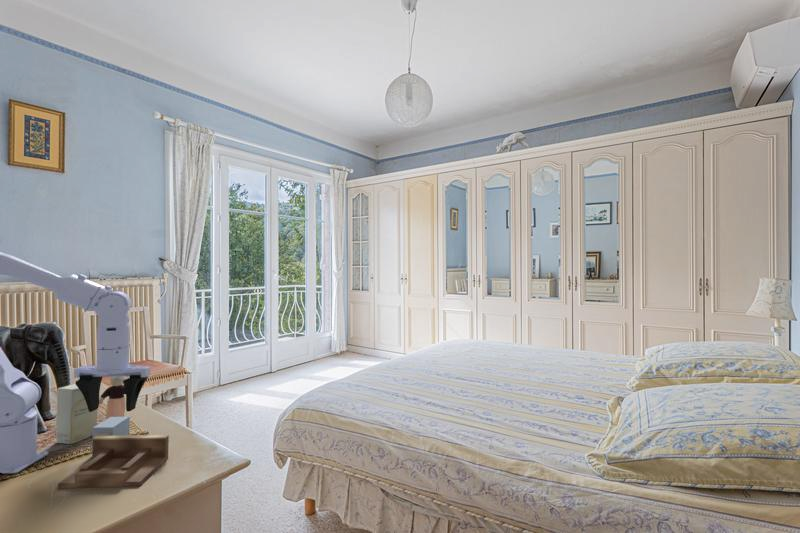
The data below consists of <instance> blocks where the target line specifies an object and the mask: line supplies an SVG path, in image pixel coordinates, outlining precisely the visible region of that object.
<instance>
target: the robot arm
mask: <svg viewBox="0 0 800 533" xmlns="http://www.w3.org/2000/svg"><path fill="white" fill-rule="evenodd" d="M0 275H2V276H7V277H11V278H14V279H17V280H20V281H22V282H23V281H24V282H26V283H29V284H31V285H34V286H38V287H40V288H44V289H47V290H50V291H52V292H53V295H54V297H55V299H56V300H58V301H61V302H64V303H66V304H69V305H72V306H75V307H77V308H80V309H83V310H85V311H88V312H93V311H94V313H95V314H96V316H97V318H98V319H97V321H98V323H97V327H96V328H97V329H96V365H89V366H87V365H86V366H85V365H84V366H79V367H74V369H73V378H75V379H76V378H77V379H78V380H76V381H75V384H76V386H77V387H78V388H79V389H80V391H81V392H82V394H83V396H84V398H85V401H86V404H87V407H88V410H89V412H93V411H94V410H96V409H97V410H98V409H99V406H100V404H99V400H100V389H101V385H102V381H103V378H104V377H105V378H106V377H109V378H110V377H126V379H125V380H124V381H123V383H122V384H123V386H124V387H125V392H126V394H125V396H126V397H125V411H126V412H132V411H133V410H135V409H136V405H137V401H138V398H139V395H140V392H141V391H142V389H143V386H144V384H145V383H146V381H147V380H148V377H150V376H151V367H152V366H149V365H137V364H136V365H135V364H130V333H131V332H130V330H131V329H130V327H131V326H130V324H129V322H130V316H129V315H130V314H129V311H130V310H131V307H132V300H131V297H130V296H129V295H128V294H127V293H125V292H124V291H122V290H121V289H116V290H115V289H114V290H112V288H113V287H112V285H111V286H110V285H101V283H100V284H99V283H96V282H95V281H91V280H89V279H88V278H89V277H88V276H87V275H85V274H79V275H76V274H69V275H64V276H61V275H59V274H57V273H54V272H51V271H49V270H47V269H45V268H43V267H40V266H38V265H35V264H32V263H30V262H28V261H25V260H23V259H20V258H18V257H16V256H14V255H11V254H8V253H6V252H5V253H4V252H1V251H0ZM127 377H129V378H127ZM41 398H42V388H41V387H40V385H39V384H38V383H37V382H35V381H33V380H31V379H29V378H28V377H27V375H26V374H25V373H24V372H23V371H21V370H20V369H18V368H16V367H14V366H13V364H12V362H11V361H10V360H9V358H8V356H7V355H6V353H5V352H4V350H3V349H2V347H1V346H0V472H1V473H2V474H16V473H17V474H18V473H19V472H21V471H22V470H24V469H26V468H28V467H29V466H31V465H32V464H34V463H35V462H37V461H39V460H41V459H43V458H45V457H46V456H48V455H49V452H48V451H38V450H37V449H38V411H37V409H36V408H35V405H36V404H38V402H39V401H40V399H41Z"/></svg>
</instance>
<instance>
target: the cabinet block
mask: <svg viewBox="0 0 800 533" xmlns="http://www.w3.org/2000/svg"><path fill="white" fill-rule="evenodd" d="M130 418H131V416H124V417H110V418H108V419H106V418H105V420H103V421H102V422H100V423H98V424H97V425H96V426H95V427H93V436H91V437H92V438H91V439H92V443H91V446H92V447H91V457H93V438H95V437H96V436H122V435H130V424H131V423H130V422H131V420H130Z"/></svg>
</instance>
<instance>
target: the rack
mask: <svg viewBox="0 0 800 533" xmlns="http://www.w3.org/2000/svg"><path fill="white" fill-rule="evenodd" d="M169 437H170V435H169V434H145V435H144V434H139V435H138V434H137V435H136V434H133V435H130V434H129V435H122V436H96V437H95V438H93V456H92V459H90V460H89V461H88V462H86V463H85V464H83V465H81V466H80V467H79V468H78V469H76V470H75V471H74V472H72V473H70V474H69V475H67V476H66V477H65V478H63V479H62V480H61V481H59V482H58V483H57V489H70V488H71V489H72V488H76V489H77V488H113V487H140V486H142V485H143V484H144V483H145V482H146V481H147V480H148V479H149V478H150V477H151V476H152V475H153V474H154V473H155V472H156V471H157V470H158V469H159V468H160V467H161V466H163V464H165V463H166V462H167V460H168V459H169V440H170V439H169Z"/></svg>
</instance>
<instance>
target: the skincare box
mask: <svg viewBox="0 0 800 533" xmlns="http://www.w3.org/2000/svg"><path fill="white" fill-rule="evenodd" d="M56 391H57V393H56V430H55V431H56V433H55V442H56V443H58V444H67V445H73V444H75V443H77V442H82V441H83V440H85V439H87V438H90V437H92V436H93V427H95V426H96V425H98V424H97V423H98V409H96V410H94V411H93V412H89V410H88V407H87V404H86V401H85V398H84V396H83V394H82V392H81V391H80V389H79V388H78V387H77V386H76V383H73V384H68V385H64V386H61V387H58V388H57V390H56Z"/></svg>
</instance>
